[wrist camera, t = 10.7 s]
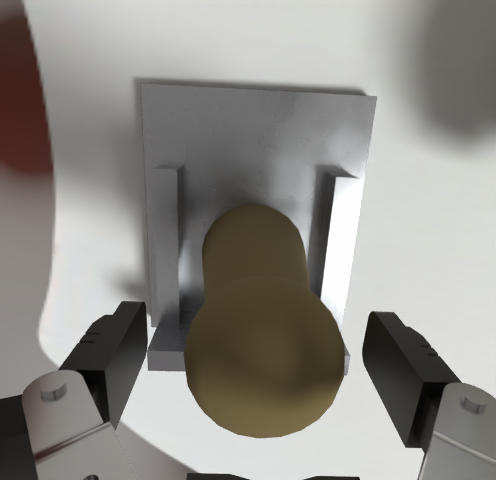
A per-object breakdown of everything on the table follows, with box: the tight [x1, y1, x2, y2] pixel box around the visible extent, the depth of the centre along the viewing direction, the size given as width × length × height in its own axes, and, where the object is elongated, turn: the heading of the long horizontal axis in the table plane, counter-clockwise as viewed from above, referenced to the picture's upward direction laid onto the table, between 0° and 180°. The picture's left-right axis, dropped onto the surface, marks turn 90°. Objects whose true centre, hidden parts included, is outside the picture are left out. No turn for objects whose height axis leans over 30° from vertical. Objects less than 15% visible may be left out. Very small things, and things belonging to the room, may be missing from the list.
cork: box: [183, 205, 345, 438], centre depth 15 cm, size 6×6×11 cm
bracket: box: [141, 83, 377, 375], centre depth 18 cm, size 14×12×5 cm
